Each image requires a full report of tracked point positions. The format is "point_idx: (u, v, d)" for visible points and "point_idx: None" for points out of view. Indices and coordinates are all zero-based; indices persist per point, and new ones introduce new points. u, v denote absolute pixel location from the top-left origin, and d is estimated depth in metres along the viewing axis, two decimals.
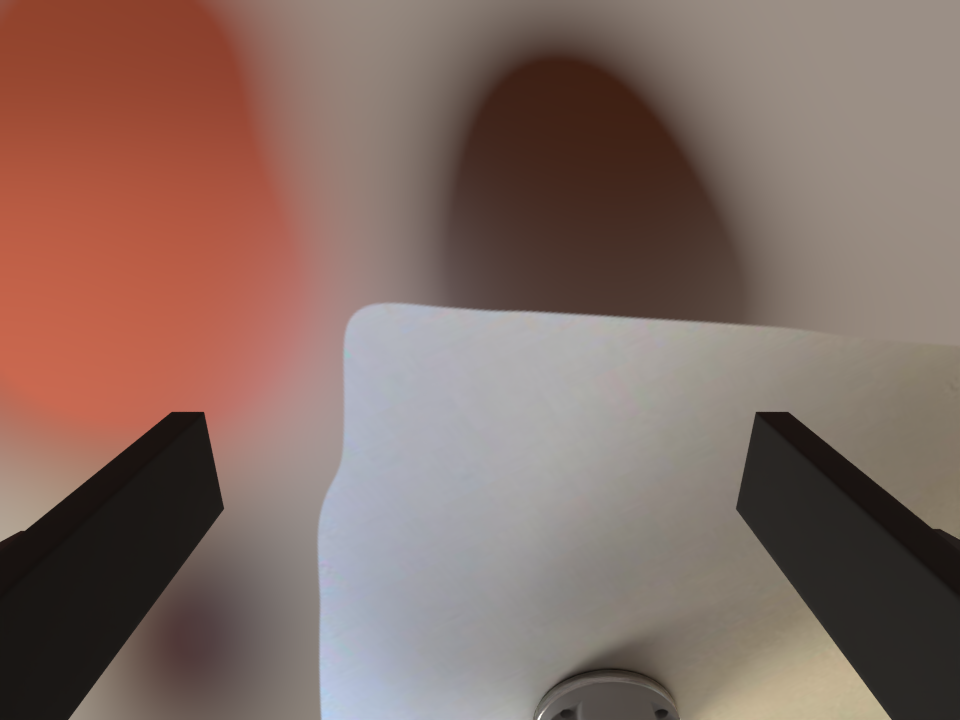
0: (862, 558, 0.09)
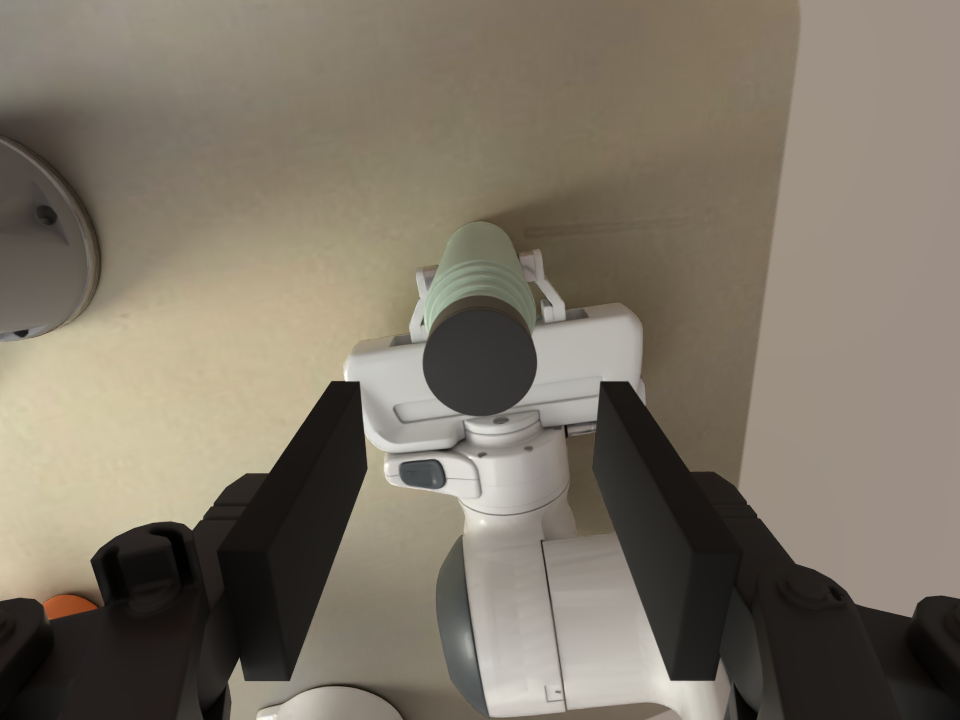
0: (638, 493, 0.10)
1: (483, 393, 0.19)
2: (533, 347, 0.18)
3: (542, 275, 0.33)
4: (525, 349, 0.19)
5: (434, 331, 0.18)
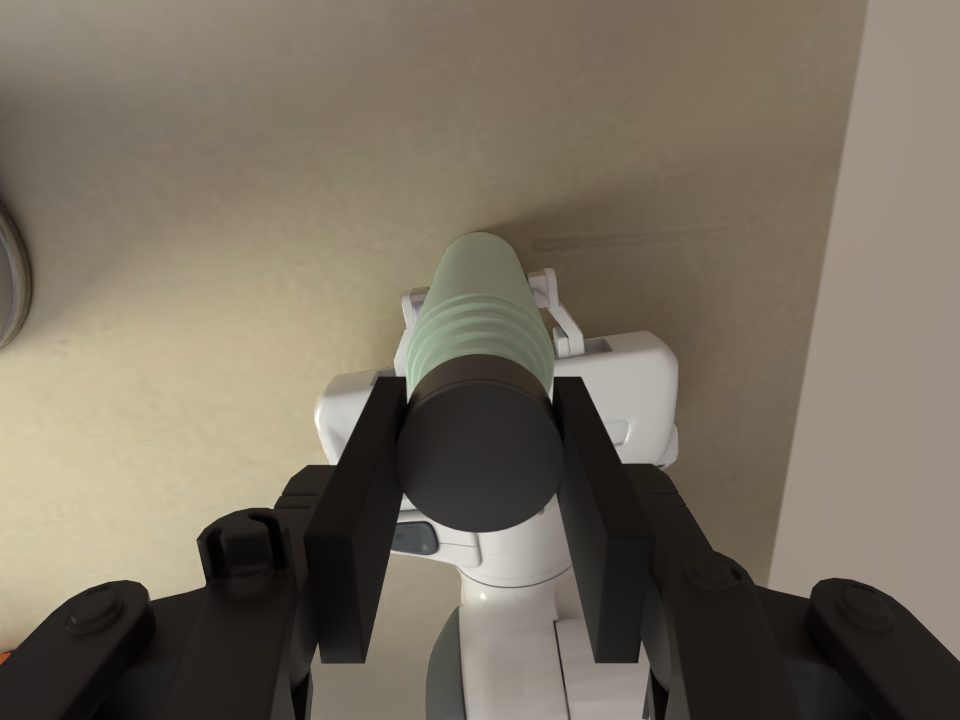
0: (576, 484, 0.11)
1: (485, 501, 0.13)
2: (560, 438, 0.12)
3: (556, 300, 0.27)
4: (548, 441, 0.12)
5: (411, 416, 0.12)
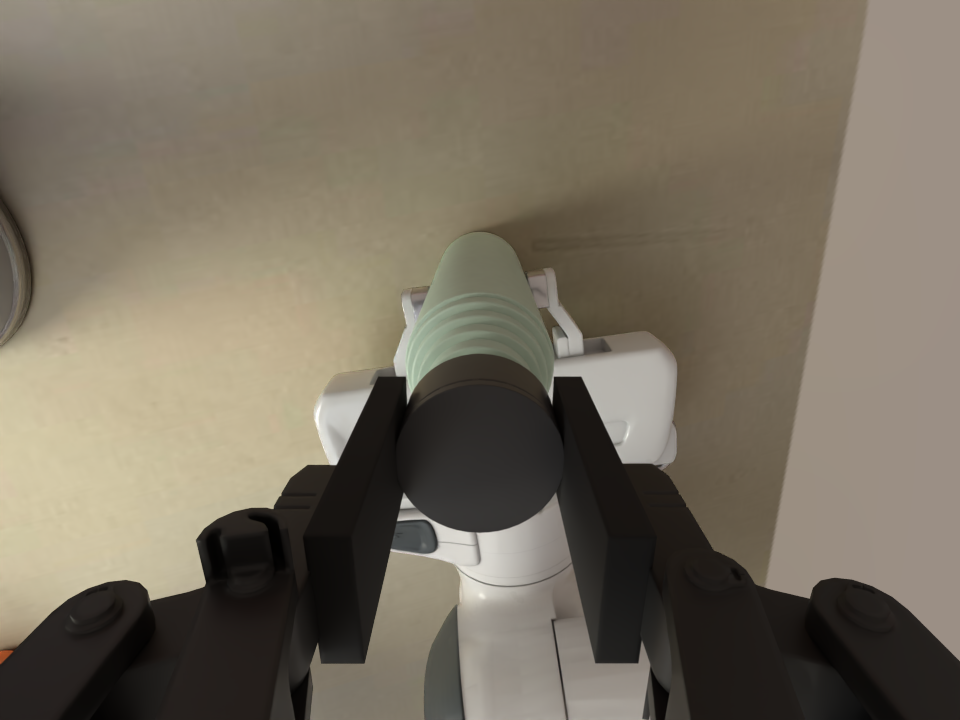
0: (576, 484, 0.11)
1: (522, 445, 0.12)
2: (427, 402, 0.12)
3: (556, 300, 0.27)
4: (434, 411, 0.12)
5: (451, 527, 0.13)
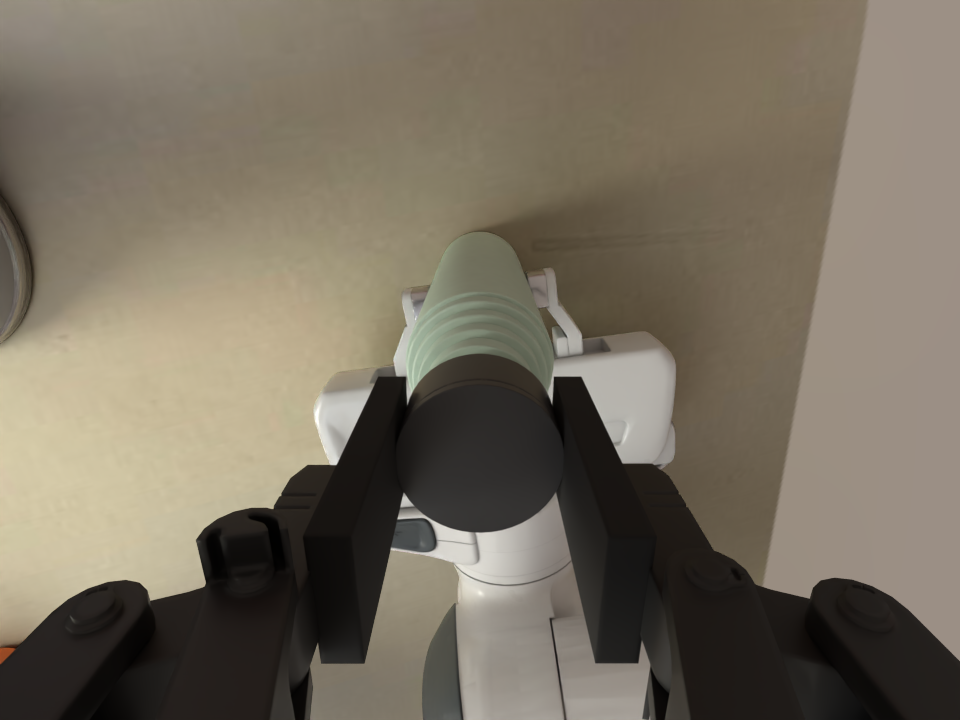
0: (576, 484, 0.11)
1: (448, 433, 0.12)
2: (432, 519, 0.13)
3: (555, 300, 0.28)
4: (440, 511, 0.13)
5: None
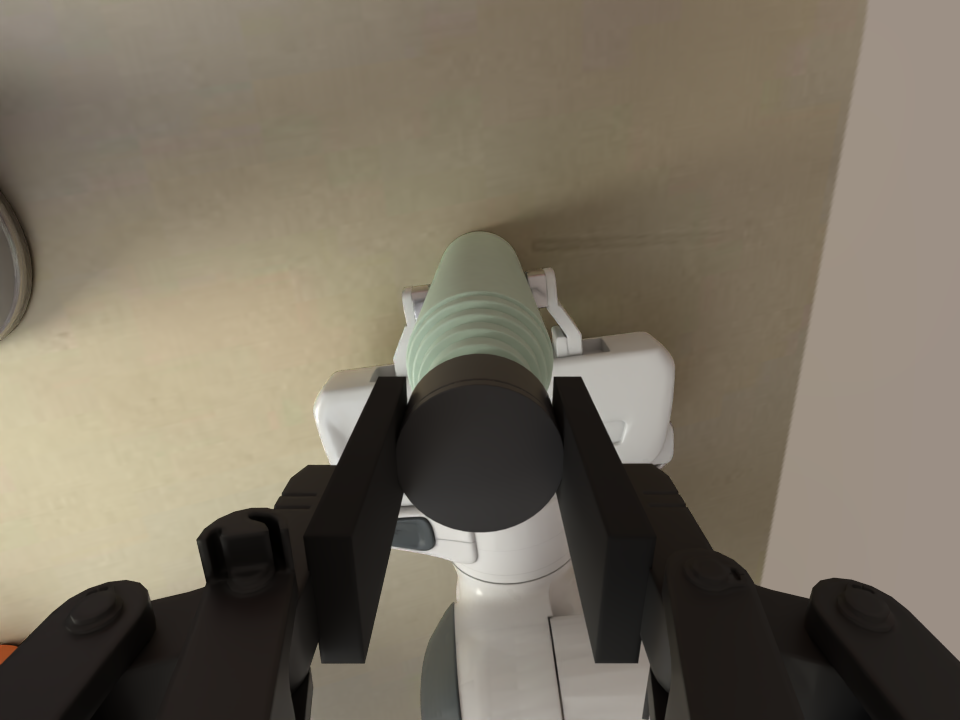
0: (576, 484, 0.11)
1: (456, 496, 0.13)
2: (557, 485, 0.13)
3: (555, 300, 0.28)
4: (546, 481, 0.13)
5: (459, 387, 0.12)
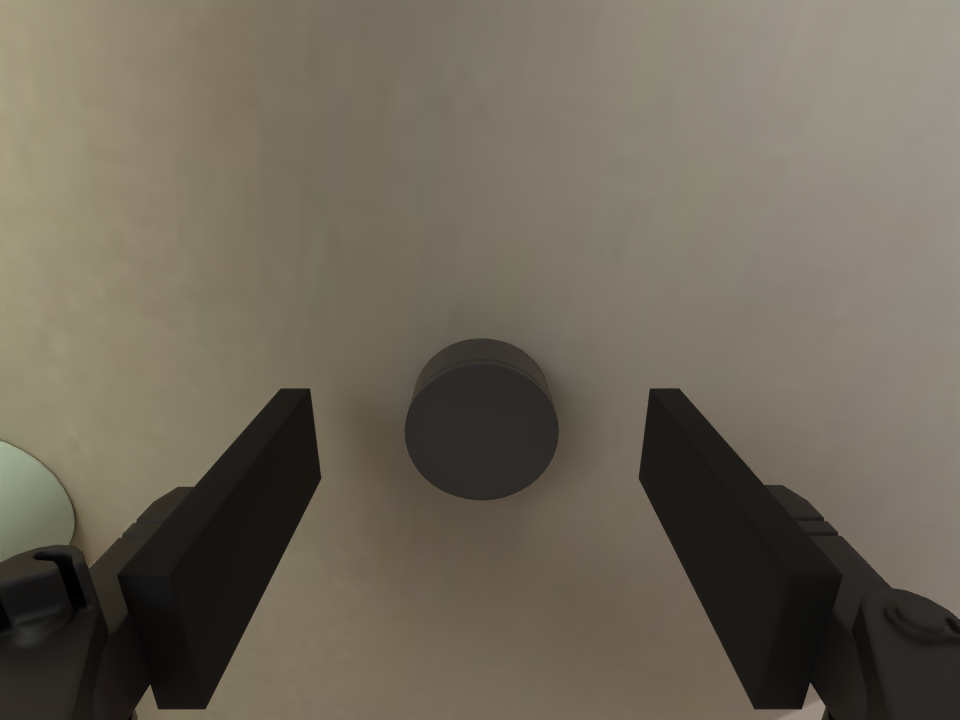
0: (707, 508, 0.10)
1: (461, 466, 0.14)
2: (551, 456, 0.14)
3: None
4: (541, 453, 0.14)
5: (463, 367, 0.13)
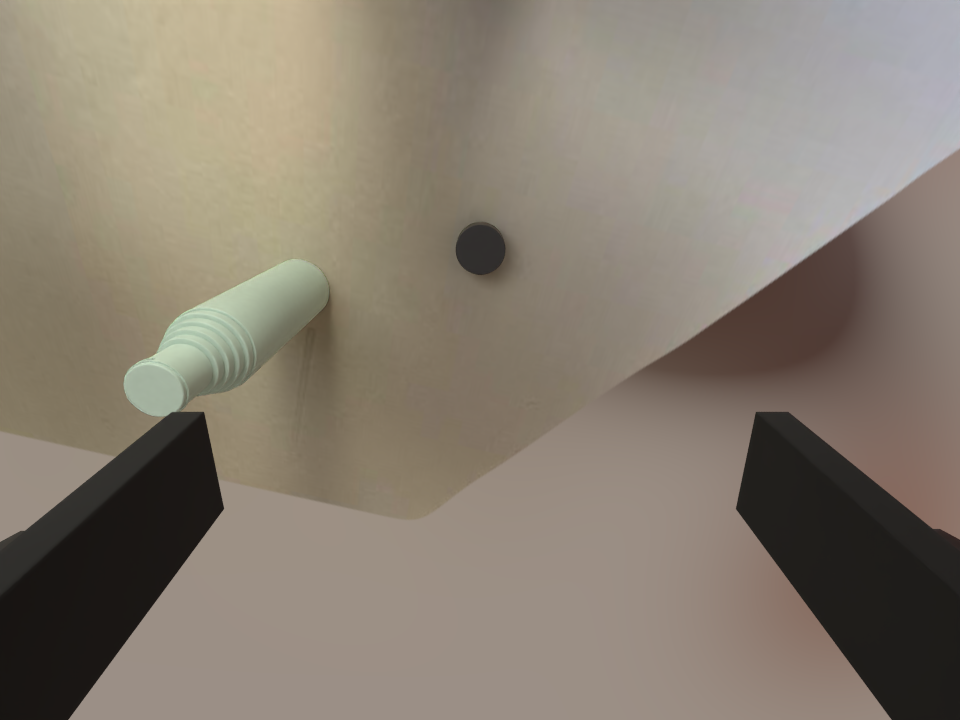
0: (862, 558, 0.09)
1: (473, 261, 0.44)
2: (503, 257, 0.44)
3: None
4: (500, 256, 0.44)
5: (474, 225, 0.43)
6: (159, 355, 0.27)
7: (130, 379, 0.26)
